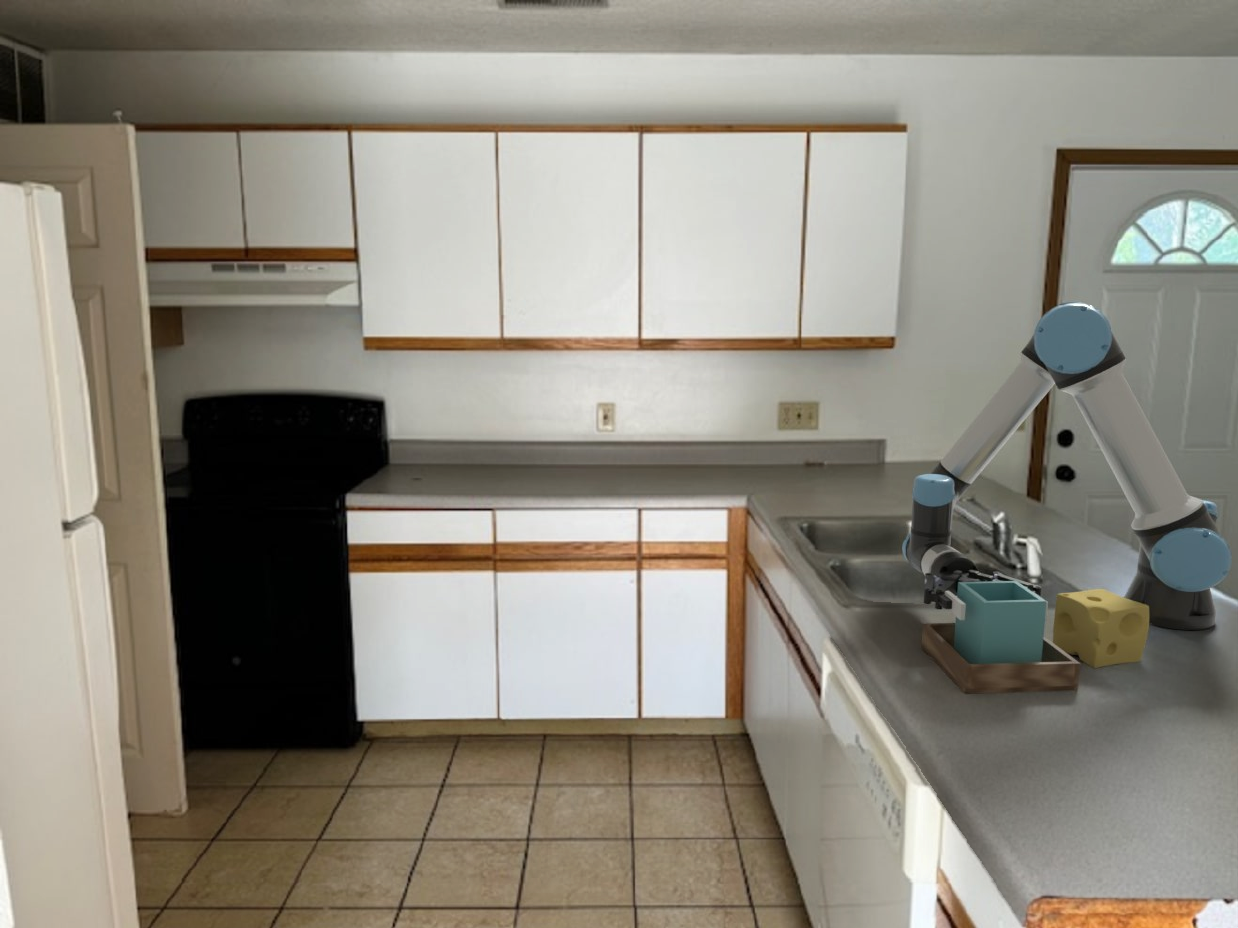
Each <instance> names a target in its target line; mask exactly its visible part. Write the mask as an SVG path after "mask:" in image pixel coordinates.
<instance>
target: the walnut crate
mask: <svg viewBox="0 0 1238 928" xmlns="http://www.w3.org/2000/svg"><path fill="white" fill-rule="evenodd" d="M954 635H955V622H934V623H931V622H930V623H922V633H921V649H922V650H923V651H924V653H926V654H927V655H928V656H929V657H930V659H932V661H933V662H934V663H936V665H937V666H938V667H939V668H940V669H941V671H943V673H945V674H946V675H947V677H949V678H950V679H951V681H952V682H953V683H954V684H955V685H956V686H957V687H958V688H959V689H960V690H961V691H962V692H963V693H964V694H993V693H997V694H999V693H1026V692H1027V693H1028V692H1029V693H1030V692H1064V691H1065V692H1066V691H1067V692H1068V691H1073V692H1074V691H1078V690H1079V684H1080V683H1079V681H1080V673H1081V662H1079V661H1078V660H1076V659H1075V658H1074V657H1072V656H1071V654H1069V653H1067V652H1064V651H1063V650H1062V649H1060V648H1059V647H1058V646H1056V645H1055V644H1054V643H1053V641H1051V640H1050V639H1048V638H1047V637H1046V636H1044V637H1043V648H1042V659H1041V662H1033V663H995V664H969V663H968V662H967V661H966V660H965V659H964V658H963V657H962V656H961V655H960V654H959V653H958V652H957V651H956V650H954Z"/></svg>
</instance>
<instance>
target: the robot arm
mask: <svg viewBox="0 0 1238 928" xmlns="http://www.w3.org/2000/svg"><path fill="white" fill-rule="evenodd" d="M1019 354H1020V361H1019V363H1018V364H1017V365H1016V367H1015V368H1013V370H1012V371H1011V372H1010V373H1009V375H1008V376H1007V378H1006V379H1005V380H1004V381H1003V382H1002V384H1001V385H1000V386H999V387H998V389H997V390H996V391H995V393H994V394H992V396H991V397H990V398H989V400H988V401H987V403H986V404H985V405H984V406H983V408H982V409H981V410H980V411H979V412H978V414H977V415H976V416H975V417H974V419H973V420H971V422H970V424H969V425H968V426H967V427H966V428H965V430H964V431H963V432H962V433H961V435H960V436H959V437H958V439H957V440H956V441H955V442H954V443H953V445H952V446H951V448H949V450H948V451H947V452H946V454H945V455H944V456H943V457H942V459H941V460H940V462H939V463H938V464H937V465H936V466H935V467H934V469H933V470H932V471H931V472H930V473H925V474H920V475H917V476H916V477H915V478H914V480H913V487H912V488H913V489H912V491H911V496H912V503H911V504H912V505H911V523H910V524H911V525H910V533H909V534H907V535H906V537H905V539H904V540H903V542H902V546H901V547H902V550H901V551H902V554H903V557H904V559H905V560H906V561H907V562H908V563H909V565H910V566H911V567H912V568H913V569H914V570H916V571H918V572H919V573H921V574H922V575H923V576H924V591H923V604H925V605H931V604H932V602H933V603H934V604H935V605H934V608H935V609H936V610H943V609H945V610H948V611H949V612H950V613H951V614H952V615H953V616H955V618H956V617H957V618H958V619H959V620H965V609H966V604H965V603H964V602H962V601H961V600H960V599H959V598H957V592H958V582H988V581H1017V582H1019V583H1020V584H1022V585H1023V586H1025V587H1026V588H1028V589H1029V590H1031V591H1032V592H1034V593H1035V594H1037V595H1038V596H1040V597H1041V598H1043V597H1042V596H1041V594H1042V593H1041V592H1042V587H1041V586H1040V585H1037V584H1034V583H1031V582H1028V581H1027V582H1026V581H1024V580H1021V579H1018V578H1014V577H1011V576H1008V575H1005V574H1004V573H1001V572H1000V571H993V573H992V575H990V574H986V573H983V572H982V573H981V572H980V571H979V569H978V567H977V565H976V564H975V563H974V561H972V560H971V559H970V558H969V557H967V556H966V555H964V554H963V553H962V552H960V551H959V550H957V549H955V548H954V547H952V546H951V540H952V526H953V516H954V509H955V507H956V505H957V503H958V501H959V500H960V498H961V497H962V496H963V495H964V494H965V493H966V491H968V490H969V487H970V486H971V485H972V484H973V482H974V481H976V479H977V478H978V476H979V475H980V474H981V473H982V472H983V470H984V469H985V468H986V467H987V465H989V463H990V462H991V461H992V460H993V459H994V458H995V456H996V455H997V454H998V453H999V452H1000V450H1001V448H1003V446H1005V444H1006V443H1007V442H1008V441H1009V439H1010V438H1011V437H1012V436H1013V435H1014V433H1015V432H1016V431H1017V430H1018V429H1019V427H1020V426H1021V425H1022V423H1024V421H1025V420H1027V418H1028V416H1030V414H1031V413H1032V412H1033V411H1034V410H1035V408H1036V407H1038V405H1039V404H1040V402H1041V401H1042V400H1043V399H1044V397H1045V396H1047V394H1048V393H1049V392H1050V391H1051V389H1052V388H1053V387H1054V386H1056V387H1057V389H1058V391H1060V392H1064V393H1067V394H1068V395H1071V396H1072V397H1073V401H1074V402H1075V403H1076V405H1077V407H1078V409H1079V412H1081V415H1082V416H1083V418H1084V420H1085V422H1086V424H1087V426H1088V427H1089V430H1090V432H1091V434H1092V435H1093V437H1094V439H1095V441H1096V443H1097V445H1098V447H1099V448H1100V450H1101V452H1102V454H1103V455H1104V458H1105V460H1106V462H1107V464H1108V465H1109V467H1110V469H1111V471H1112V473H1113V475H1114V476H1115V478H1116V480H1117V482H1118V485H1119V486H1120V487H1121V490H1122V492H1123V493H1124V496H1125V497H1126V499H1127V501H1128V502H1129V504H1130V506H1131V508H1132V510H1133V512H1134V518H1133V519H1132V523H1131V528H1132V530H1133V533H1134V534H1135V536H1136V538H1137V540H1138V541H1139V549H1138V551H1139V552H1138V559H1137V560H1138V561H1137V570H1136V573H1135V575H1134V577H1133V579H1132V581H1131V583H1130V585H1129V587H1128V588H1127V591H1126V593H1125V594H1124V598H1126V599H1129V600H1132V601H1136V602H1139V603H1142V604H1145V605H1148V606H1149V625H1153V626H1157V627H1161V628H1167V629H1175V630H1184V631H1187V630H1188V631H1194V630H1195V631H1198V630H1207V629H1209V628H1211V627H1214V626H1215V622H1216V617H1217V612H1216V611H1217V610H1216V606H1215V603H1214V598H1213V595H1212V590H1211V589H1212V588H1213V587H1215V586H1216V585H1218V584H1220V583H1221V582H1222V581H1223V580H1224V579H1225V578H1226V576H1227V575H1228V573H1229V572H1230V569H1231V566H1232V550H1231V548H1230V545H1229V543H1228V542H1227V540H1226V539H1224V538H1223V536H1222V535H1221V532H1220V531H1219V529H1218V527H1217V519H1218V518H1219V514H1218V505H1217V504H1216V503H1215V502H1212V501H1209V500H1205V499H1204V500H1202V499H1201V498H1198V497H1195V496H1192V495H1189V493H1188V492H1187V491H1186V488H1185V487H1184V485H1183V483H1182V481H1181V479H1180V478H1179V475H1178V474H1177V472H1176V470H1175V469H1174V468H1175V467H1173V465H1172V463H1171V461H1170V459H1169V458H1168V455H1167V453H1166V452H1165V450H1164V448H1163V446H1162V444H1161V442H1160V440H1159V439H1158V437H1157V435H1156V433H1155V431H1154V430H1153V427H1152V425H1151V424H1150V421H1149V420H1148V419H1147V416H1146V415H1145V412H1144V410H1143V409H1142V407H1141V405H1140V403H1139V402H1138V399H1137V397H1136V396H1135V394H1134V392H1133V390H1132V389H1131V386H1130V384H1129V382H1128V381H1127V379H1126V378H1125V375H1124V373H1123V369H1124V367H1125V365H1126V362H1127V358H1126V356H1125V354H1124V353H1123V350H1122V349H1121V346H1120V344H1119V343H1118V341H1117V339H1116V337H1115V335H1114V333H1113V332H1112V328H1111V324H1110V322H1109V320H1108V318H1107V317H1106V316H1105V314H1104V313H1103V312H1101V311H1100V310H1099V309H1097V307H1094V306H1093V305H1091V304H1088V303H1084V302H1080V301H1079V302H1078V301H1067V302H1063V303H1060V304H1058V305H1055V306H1053V307H1052V308H1050V309H1049V310H1048V311H1046V312H1045V314H1043V316H1042V317H1041V318H1040V319H1039V320H1038V322H1037V324H1036V326H1035V329H1034V333H1033V334H1032V336H1031V338H1030V340H1029V341H1028V343H1027V344H1026V345H1025V346H1024V348H1023V349H1022V351H1021V352H1020V353H1019ZM1048 606H1049V601H1047V604H1046V615H1045V619H1047V617H1048V608H1049V607H1048Z"/></svg>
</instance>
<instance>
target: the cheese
mask: <svg viewBox="0 0 1238 928" xmlns="http://www.w3.org/2000/svg"><path fill="white" fill-rule="evenodd" d="M1053 619H1054V620H1053V627H1052V628H1053V629H1052V643H1054V644H1055V645H1056V646H1058V647H1059V648H1060V649H1062V650H1063V651H1064V652H1066V653H1067V654H1068V655H1073V656H1078V657H1079V660H1080V661H1082V662H1083V663H1085V664H1087V665H1088V666H1089V667H1091V668H1095V669H1096V668H1097V669H1098V668H1102V667H1107V666H1114V665H1120V664H1129V663H1130V664H1131V663H1137V662H1139V663H1140V662H1141V659H1142V656H1143V653H1144V650H1145V646H1146V643H1147V638H1148V634H1149V629H1150V624H1149V606H1148V605H1145V604H1142V603H1139V602H1136V601H1132V600H1129V599H1126V598H1124V597H1123V596H1121V595H1119V594H1115V593H1114V592H1112V591H1108V590H1107V589H1105V588H1095V589H1088V590H1082V591H1081V590H1080V591H1073V592H1061V593H1057V594H1056V600H1055V609H1054V618H1053Z"/></svg>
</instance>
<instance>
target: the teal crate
mask: <svg viewBox="0 0 1238 928" xmlns="http://www.w3.org/2000/svg"><path fill="white" fill-rule="evenodd" d="M956 597H957V598H959V599H960V600H961V601H962V602H964V603H965V604H966V609H965V620H959V619H958V618H957V617H956V616H955V620H954V621H955V622H954V623H955V635H954V650H956V651H957V652H958V653H959V654H960V655H961V656H962V657H963V658H964V659H965V660H966V661H967V662H968V663H969V664H995V663H1033V662H1041V659H1042V648H1043V637H1045V636H1044V634H1045V623H1046V618H1045V615H1046V604H1047V602H1048V601H1047V600H1045V598H1043V597H1042V596H1038V595H1037V594H1035V593H1034V592H1032V591H1031V590H1029V589H1028V588H1026V587H1025V586H1023V585H1022V584H1020V583H1019V582H1017V581H988V582H958V592H957V596H956ZM1041 597H1042V598H1041Z"/></svg>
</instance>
